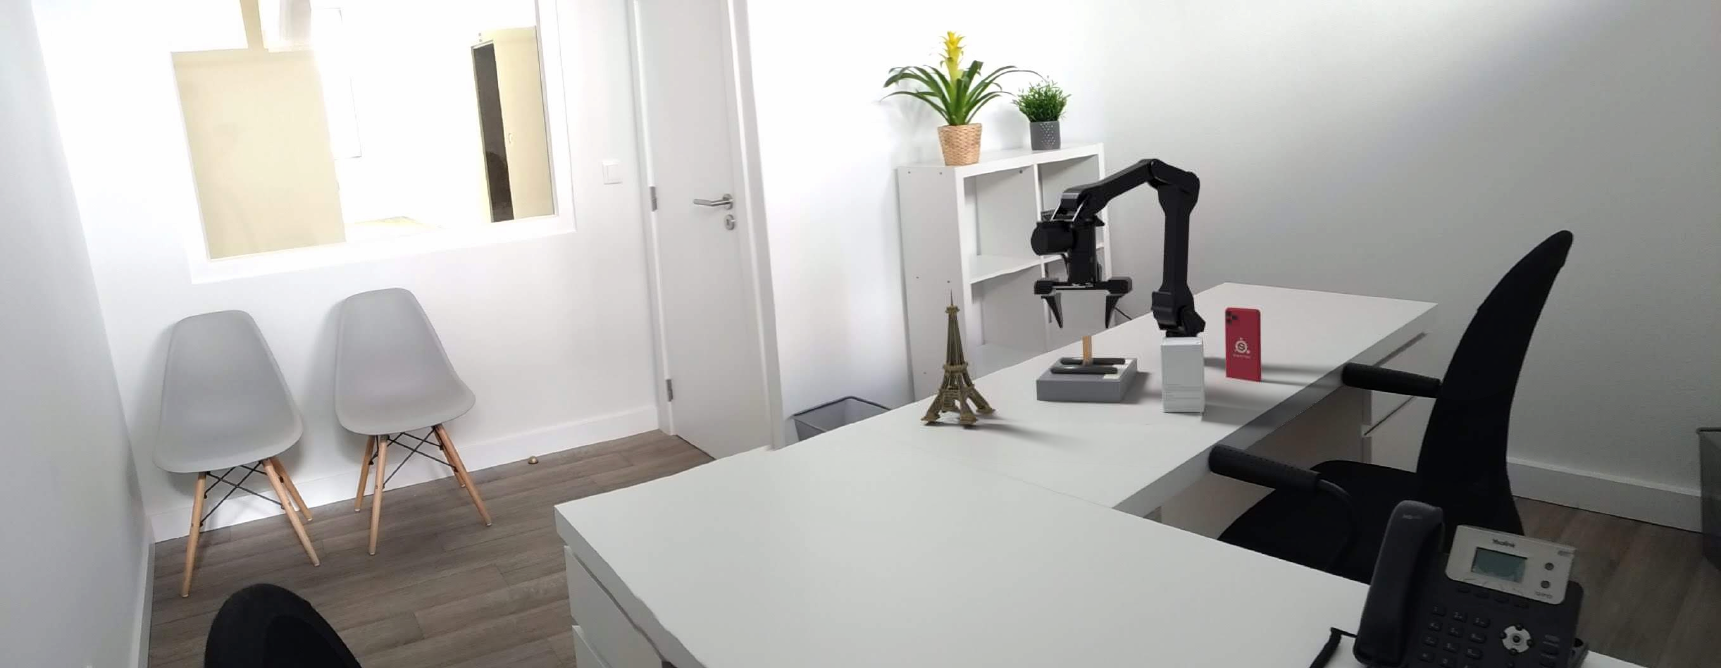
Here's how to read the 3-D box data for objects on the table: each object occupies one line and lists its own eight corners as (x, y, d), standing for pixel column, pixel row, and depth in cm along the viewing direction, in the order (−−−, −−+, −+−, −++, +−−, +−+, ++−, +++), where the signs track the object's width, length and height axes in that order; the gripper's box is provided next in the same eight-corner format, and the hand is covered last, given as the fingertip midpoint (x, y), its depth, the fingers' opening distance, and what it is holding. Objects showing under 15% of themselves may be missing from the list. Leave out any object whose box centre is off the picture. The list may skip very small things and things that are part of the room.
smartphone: (1261, 384, 211) (1260, 309, 208) (1259, 385, 210) (1258, 309, 208) (1227, 380, 216) (1225, 306, 214) (1224, 381, 216) (1223, 307, 213)
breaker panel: (1137, 377, 225) (1136, 351, 224) (1119, 402, 205) (1118, 374, 204) (1061, 375, 231) (1060, 351, 230) (1036, 400, 211) (1035, 373, 210)
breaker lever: (1094, 365, 219) (1093, 333, 218) (1089, 369, 215) (1088, 337, 214) (1086, 365, 220) (1085, 333, 219) (1081, 369, 216) (1080, 337, 215)
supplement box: (1205, 403, 200) (1204, 336, 198) (1204, 413, 193) (1203, 343, 191) (1164, 402, 202) (1162, 336, 200) (1161, 412, 195) (1159, 344, 193)
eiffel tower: (945, 407, 211) (937, 280, 207) (995, 410, 206) (988, 280, 202) (920, 420, 202) (912, 288, 198) (972, 424, 197) (964, 288, 193)
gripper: (1136, 245, 218) (1138, 321, 221) (1045, 247, 226) (1048, 321, 228) (1126, 251, 208) (1128, 331, 211) (1031, 253, 216) (1034, 330, 218)
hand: (1084, 328), depth 217 cm, fingers open, 9 cm apart
